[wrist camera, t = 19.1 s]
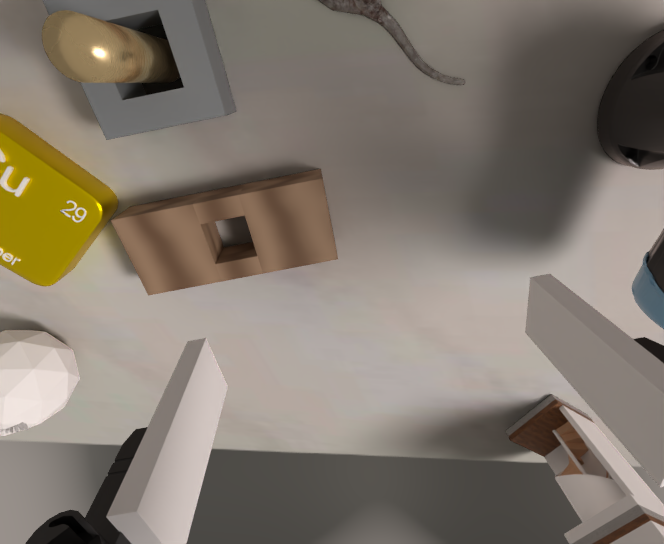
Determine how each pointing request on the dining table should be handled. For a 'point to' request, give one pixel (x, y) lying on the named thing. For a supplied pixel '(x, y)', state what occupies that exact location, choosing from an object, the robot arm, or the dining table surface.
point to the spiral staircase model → (591, 476)
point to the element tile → (46, 206)
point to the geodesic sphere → (33, 378)
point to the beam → (204, 240)
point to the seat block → (190, 56)
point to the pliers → (369, 5)
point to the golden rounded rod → (106, 51)
